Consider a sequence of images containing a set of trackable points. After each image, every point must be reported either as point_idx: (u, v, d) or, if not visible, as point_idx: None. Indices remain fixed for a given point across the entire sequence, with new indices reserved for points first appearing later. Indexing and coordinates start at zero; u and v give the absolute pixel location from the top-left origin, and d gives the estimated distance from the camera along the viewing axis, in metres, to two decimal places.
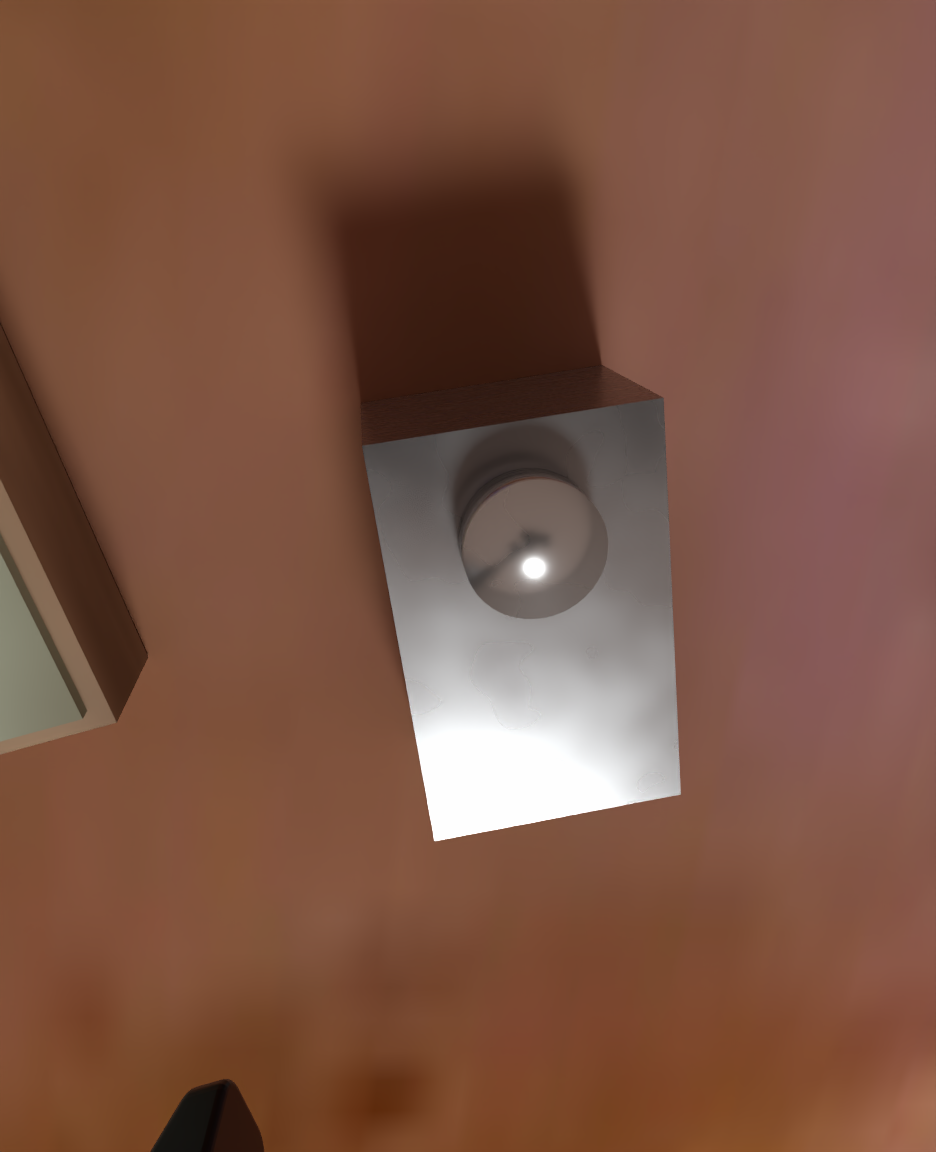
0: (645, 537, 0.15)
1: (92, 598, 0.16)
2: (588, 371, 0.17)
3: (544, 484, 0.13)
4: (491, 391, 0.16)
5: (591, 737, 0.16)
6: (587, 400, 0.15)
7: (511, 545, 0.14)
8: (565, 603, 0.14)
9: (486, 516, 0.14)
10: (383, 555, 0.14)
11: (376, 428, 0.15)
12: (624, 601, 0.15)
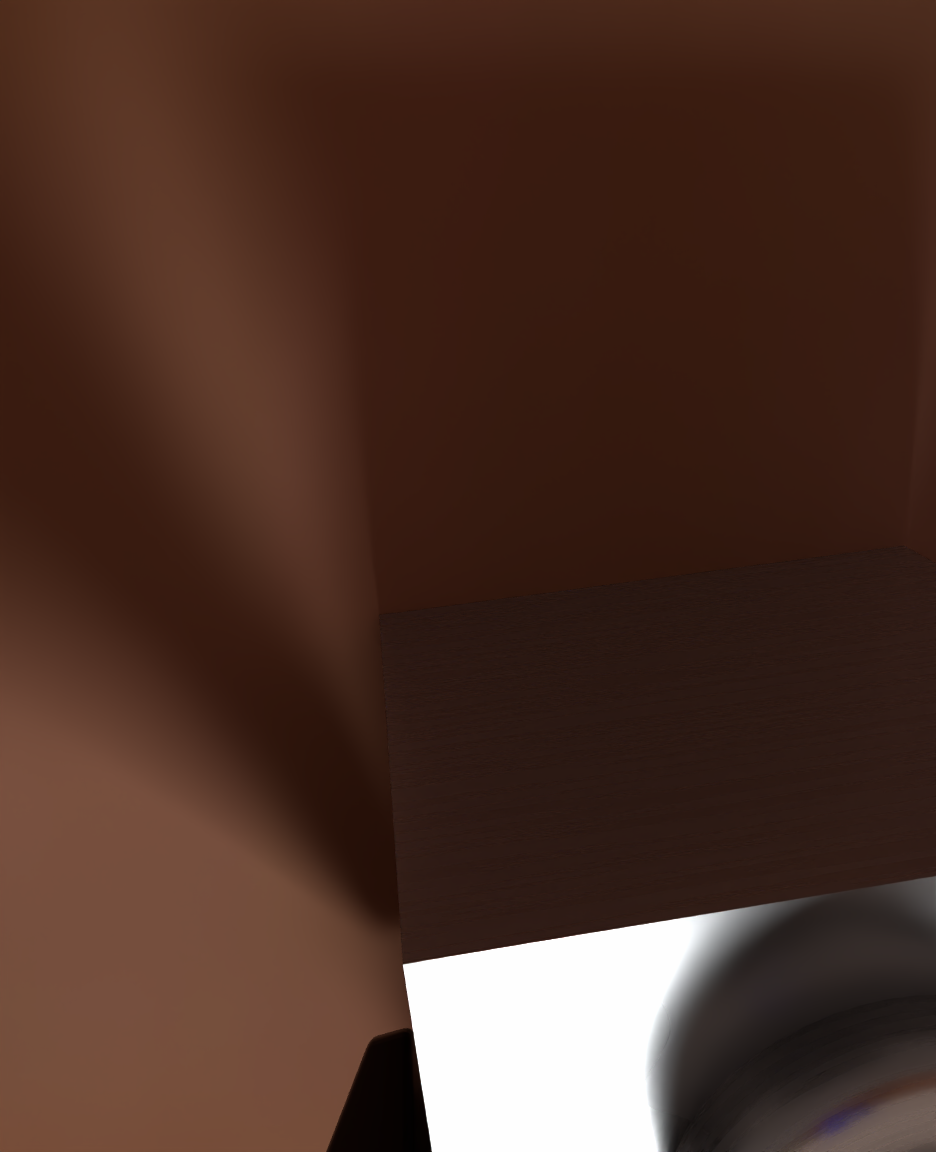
0: None
1: None
2: (905, 576, 0.07)
3: None
4: (700, 633, 0.07)
5: None
6: None
7: None
8: None
9: None
10: None
11: (435, 807, 0.05)
12: None
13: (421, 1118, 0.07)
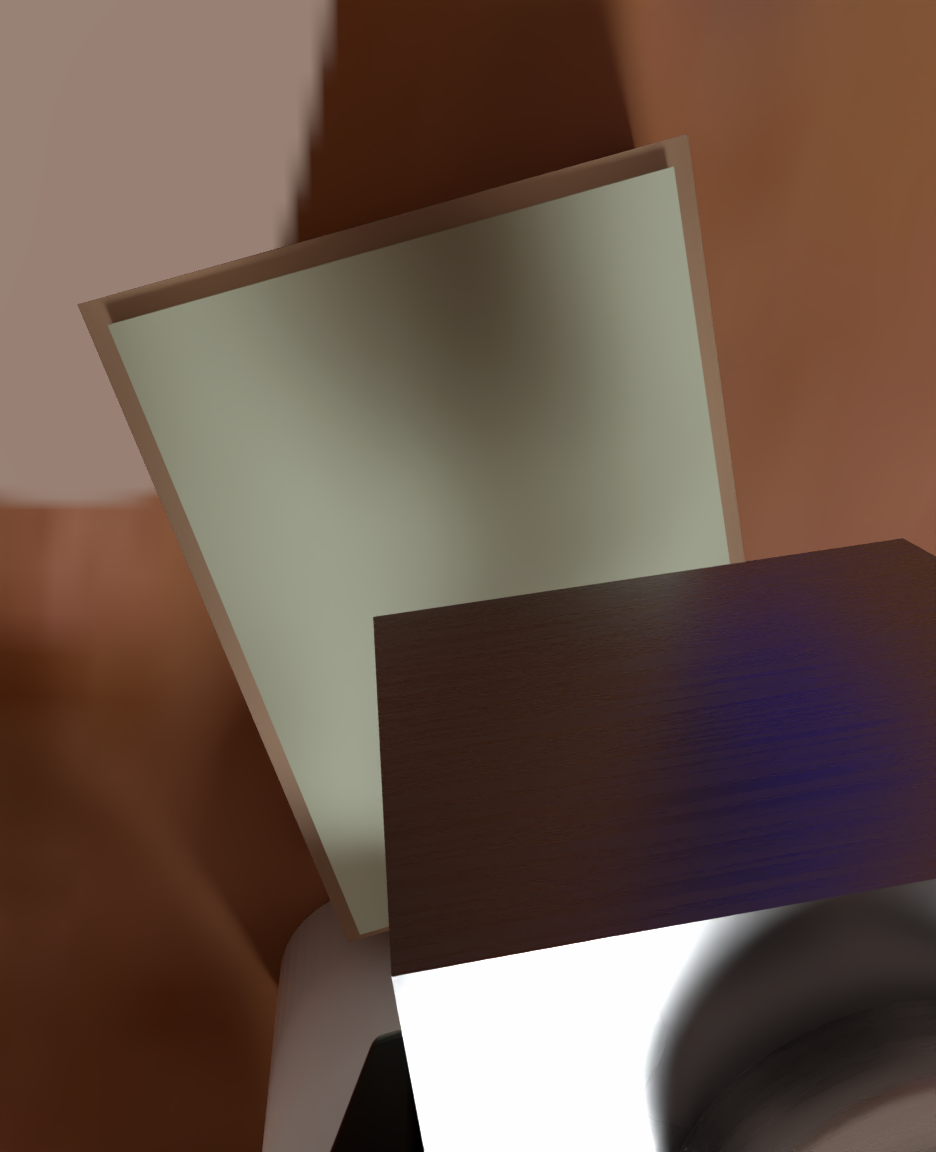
0: None
1: None
2: (905, 571, 0.07)
3: None
4: (697, 632, 0.07)
5: None
6: None
7: None
8: None
9: None
10: None
11: (427, 813, 0.05)
12: None
13: None
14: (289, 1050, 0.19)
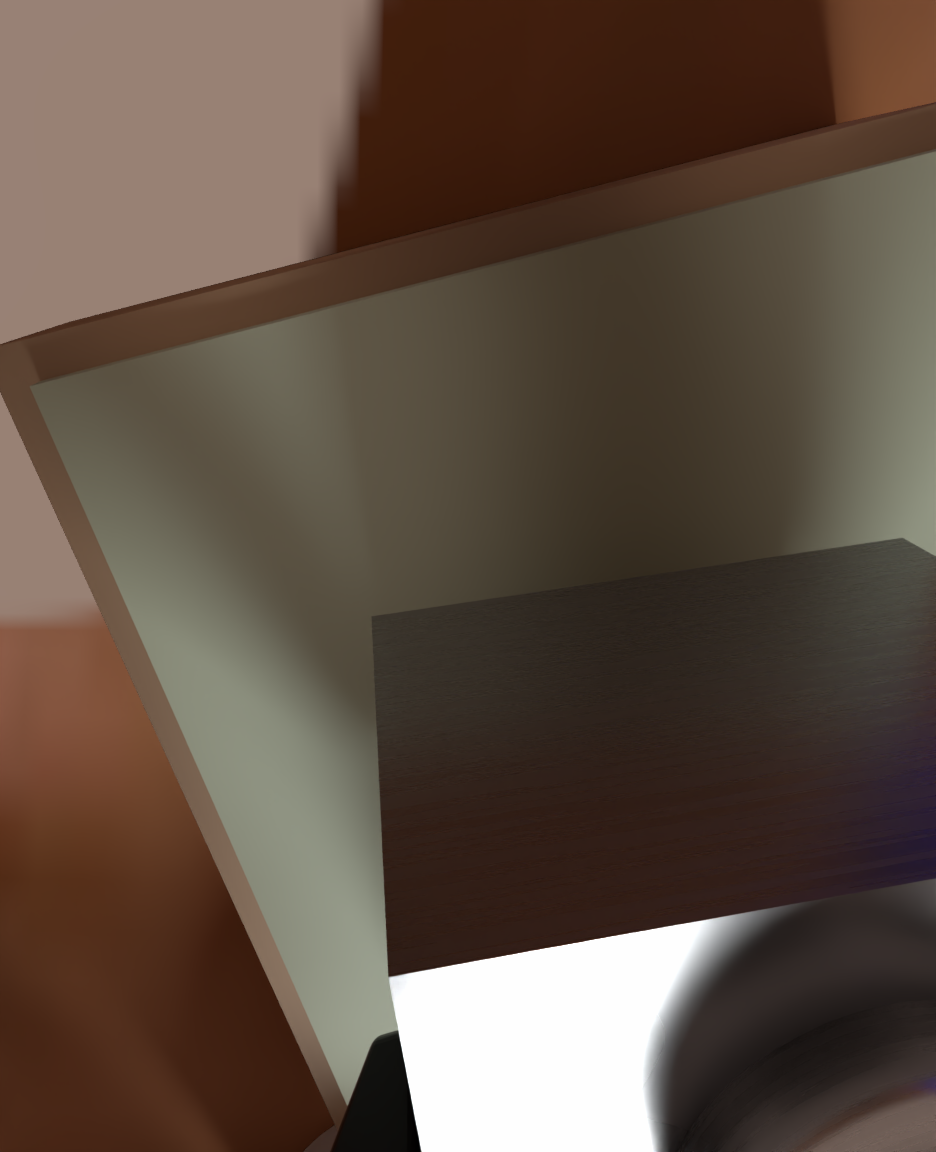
0: None
1: None
2: (905, 570, 0.07)
3: None
4: (696, 631, 0.07)
5: None
6: None
7: None
8: None
9: None
10: None
11: (424, 813, 0.05)
12: None
13: None
14: None
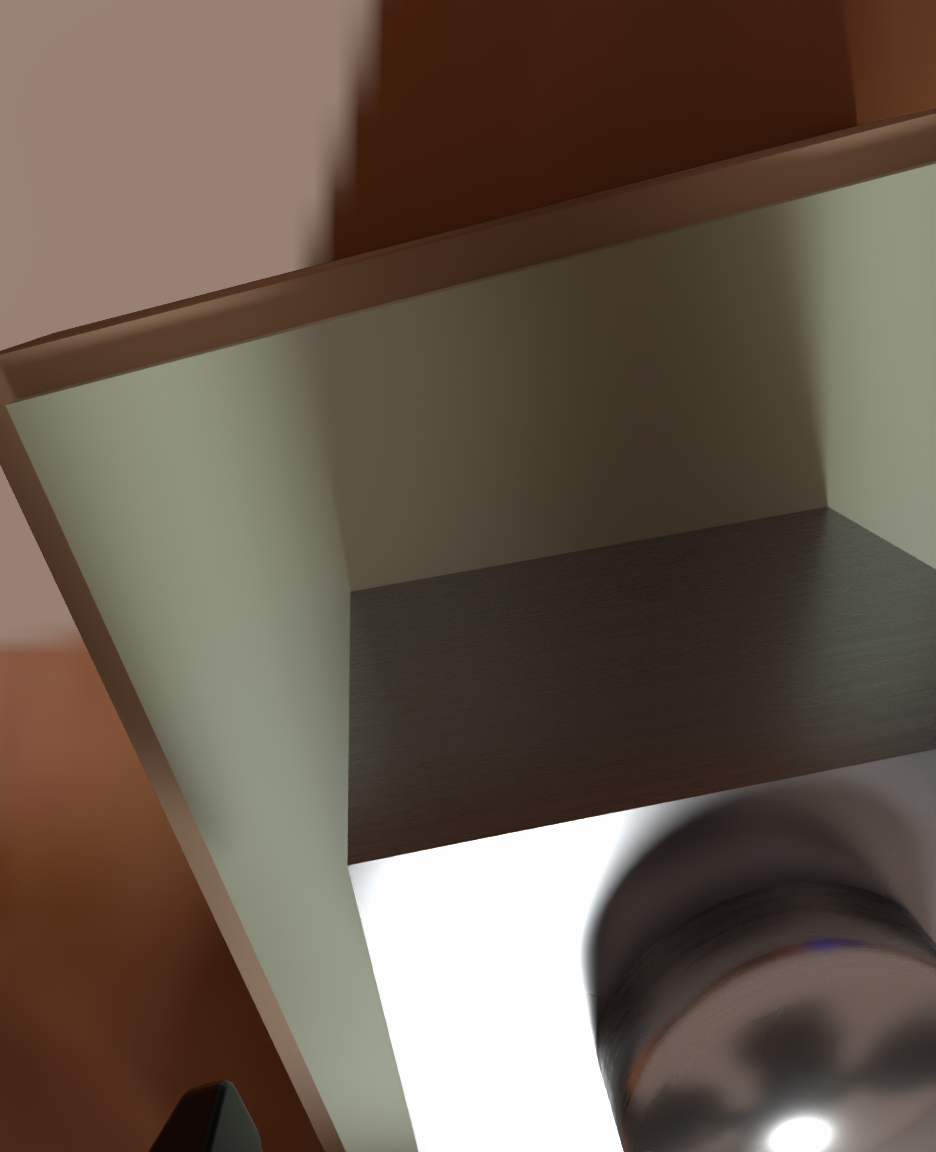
0: None
1: None
2: (823, 534, 0.08)
3: (879, 995, 0.05)
4: (632, 593, 0.08)
5: None
6: (922, 680, 0.06)
7: (766, 1132, 0.05)
8: None
9: (709, 1081, 0.05)
10: (407, 1093, 0.06)
11: (385, 746, 0.06)
12: None
13: None
14: None
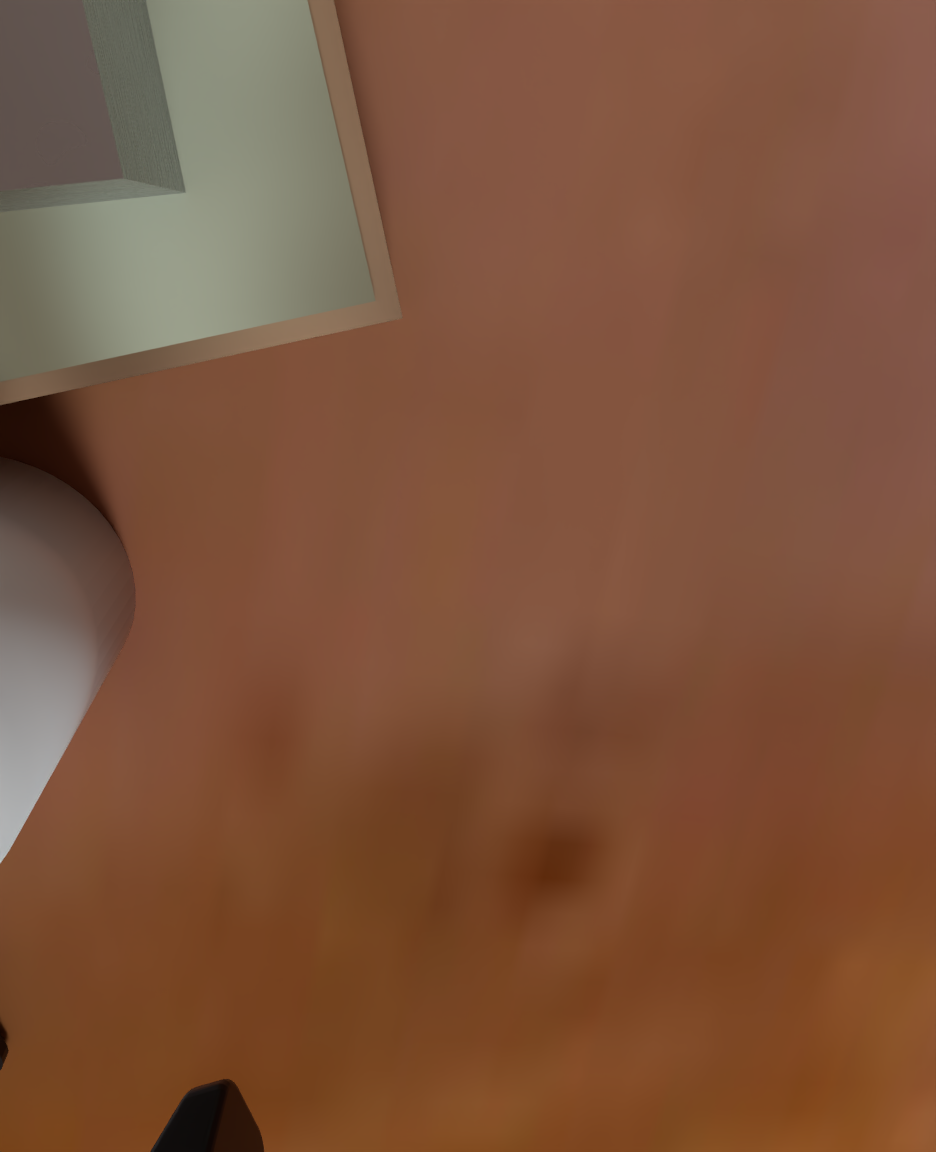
0: None
1: None
2: None
3: None
4: None
5: None
6: None
7: None
8: None
9: None
10: None
11: None
12: None
13: None
14: None
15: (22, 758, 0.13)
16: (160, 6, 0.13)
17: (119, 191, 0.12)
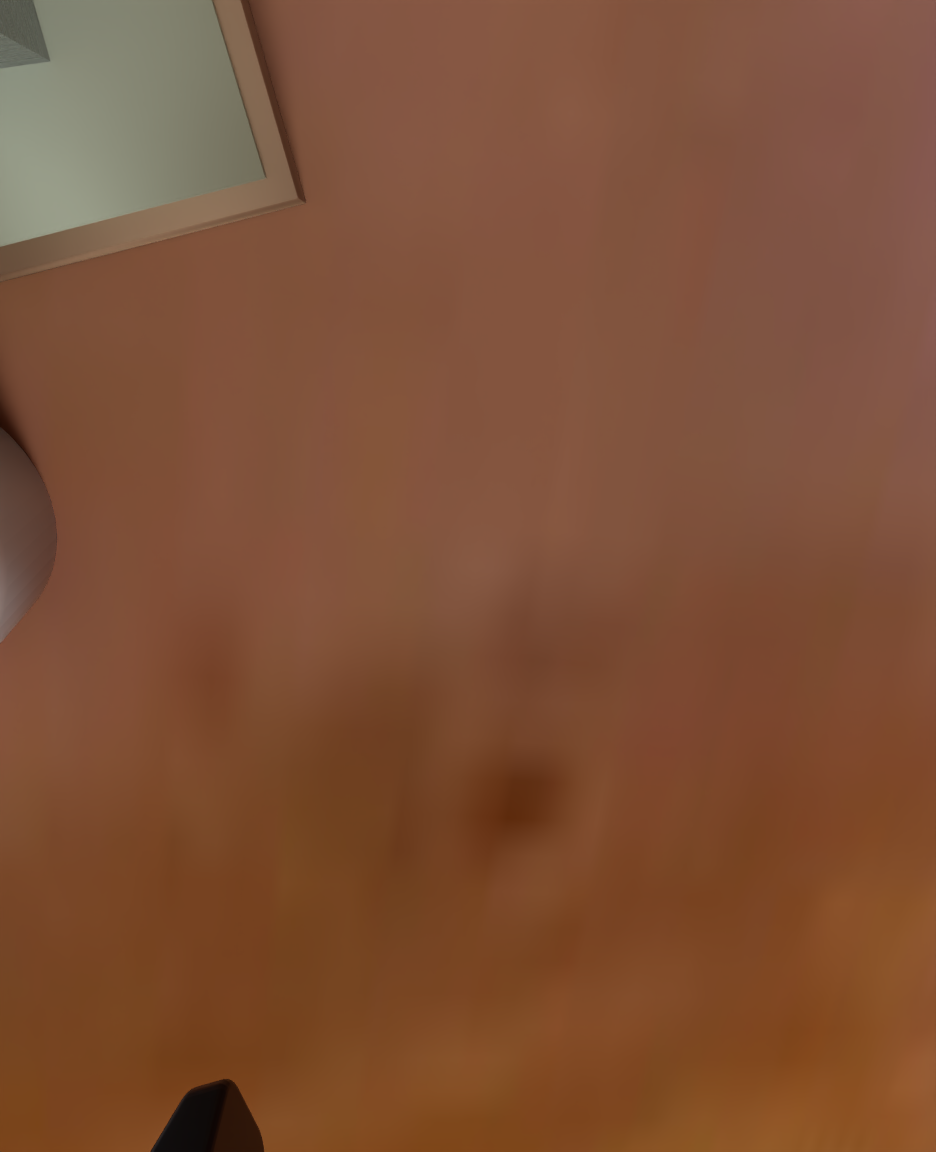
0: None
1: (264, 71, 0.15)
2: None
3: None
4: None
5: None
6: None
7: None
8: None
9: None
10: None
11: None
12: None
13: None
14: None
15: None
16: None
17: None
